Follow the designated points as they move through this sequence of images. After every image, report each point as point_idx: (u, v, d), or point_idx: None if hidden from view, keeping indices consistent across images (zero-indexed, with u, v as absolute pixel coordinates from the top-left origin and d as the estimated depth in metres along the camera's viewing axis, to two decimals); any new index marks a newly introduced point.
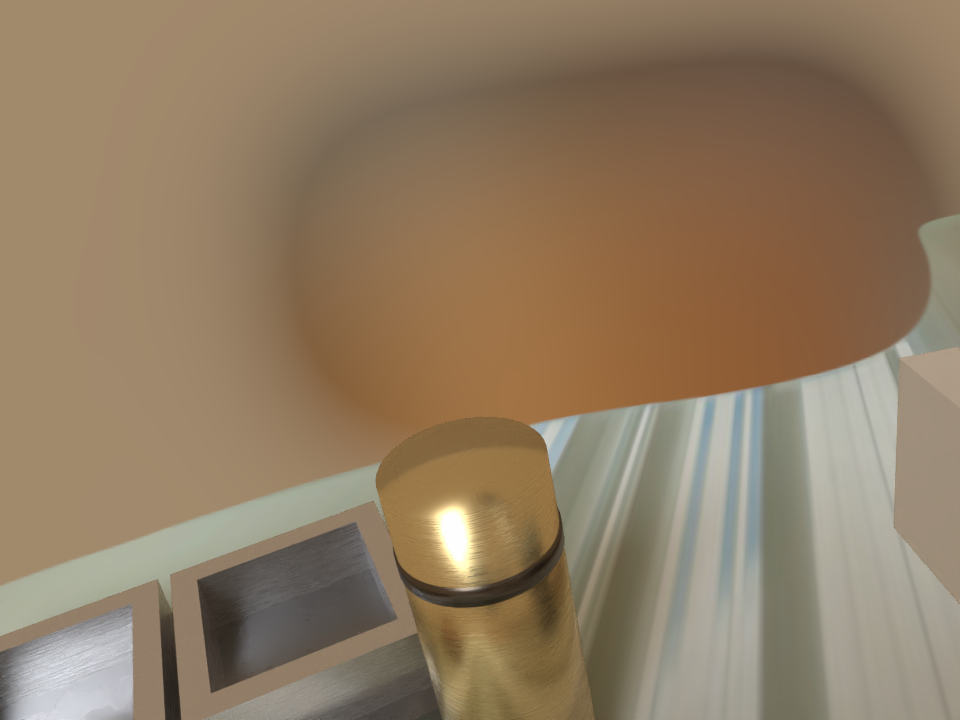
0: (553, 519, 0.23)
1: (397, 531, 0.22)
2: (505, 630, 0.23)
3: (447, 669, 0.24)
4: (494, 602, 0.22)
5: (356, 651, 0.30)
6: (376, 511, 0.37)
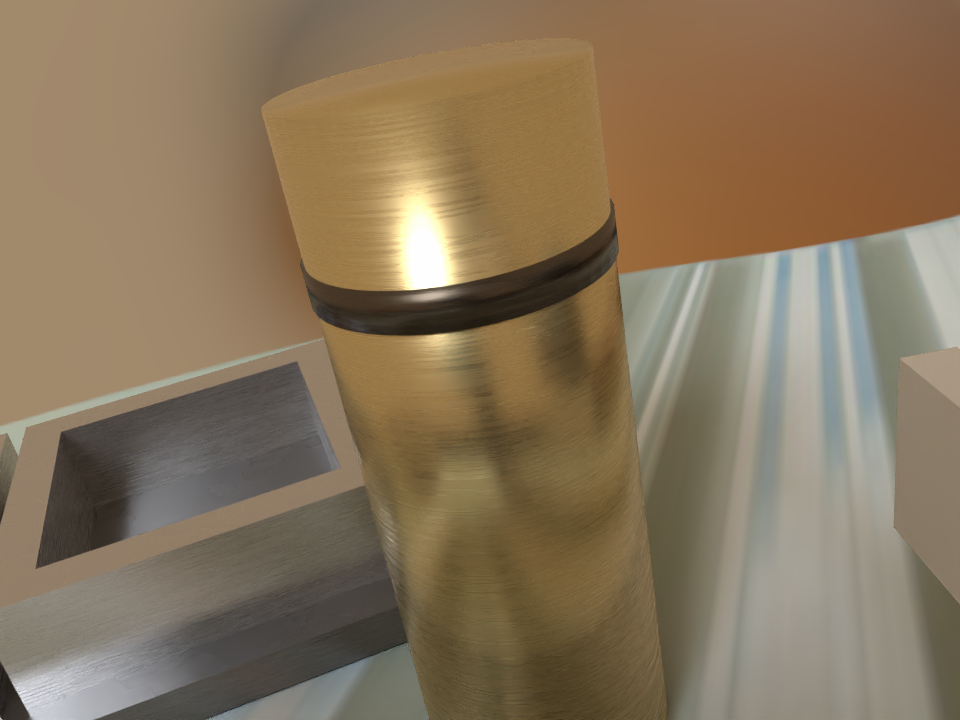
0: (601, 182, 0.12)
1: (296, 180, 0.11)
2: (506, 390, 0.12)
3: (397, 479, 0.13)
4: (484, 323, 0.11)
5: (271, 511, 0.19)
6: None
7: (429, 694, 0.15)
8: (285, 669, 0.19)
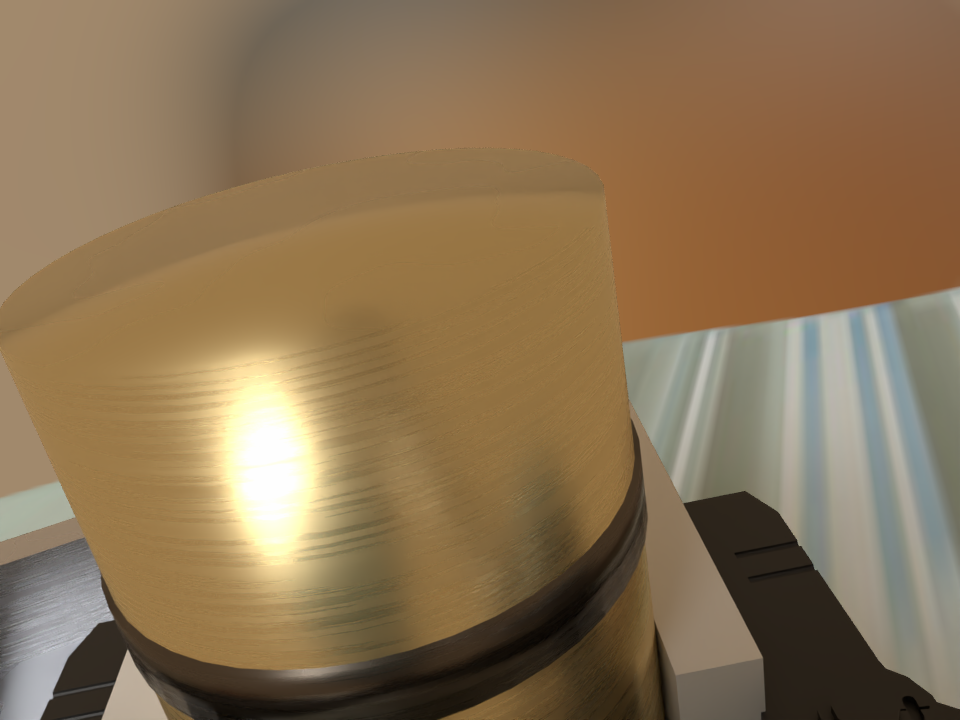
0: (621, 426, 0.07)
1: (49, 453, 0.06)
2: None
3: None
4: None
5: None
6: None
7: None
8: None
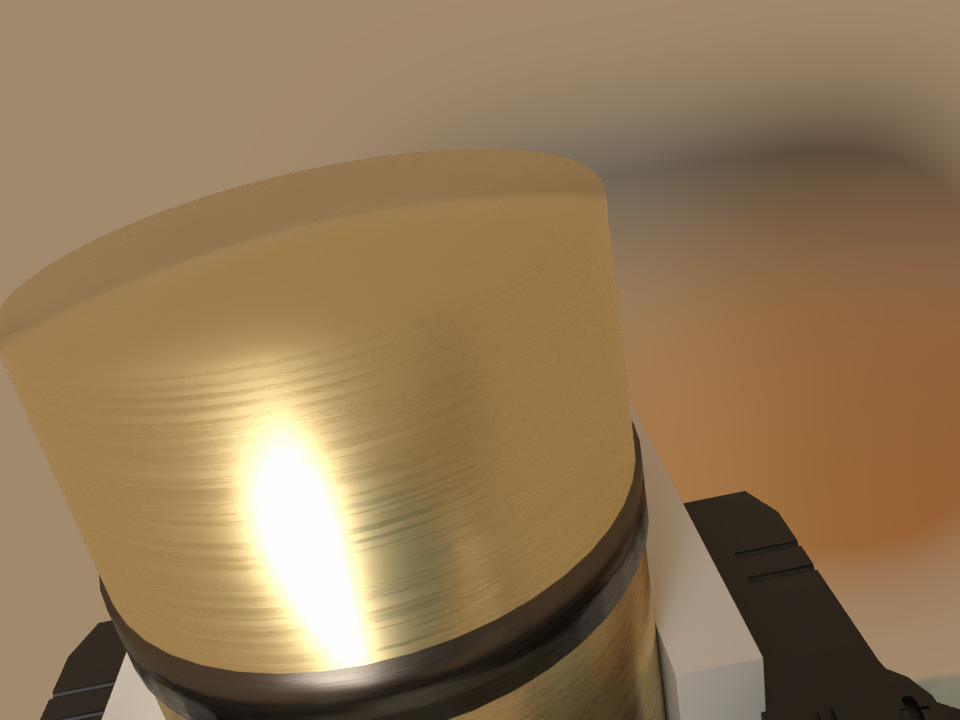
0: (622, 428, 0.07)
1: (47, 457, 0.06)
2: None
3: None
4: None
5: None
6: None
7: None
8: None
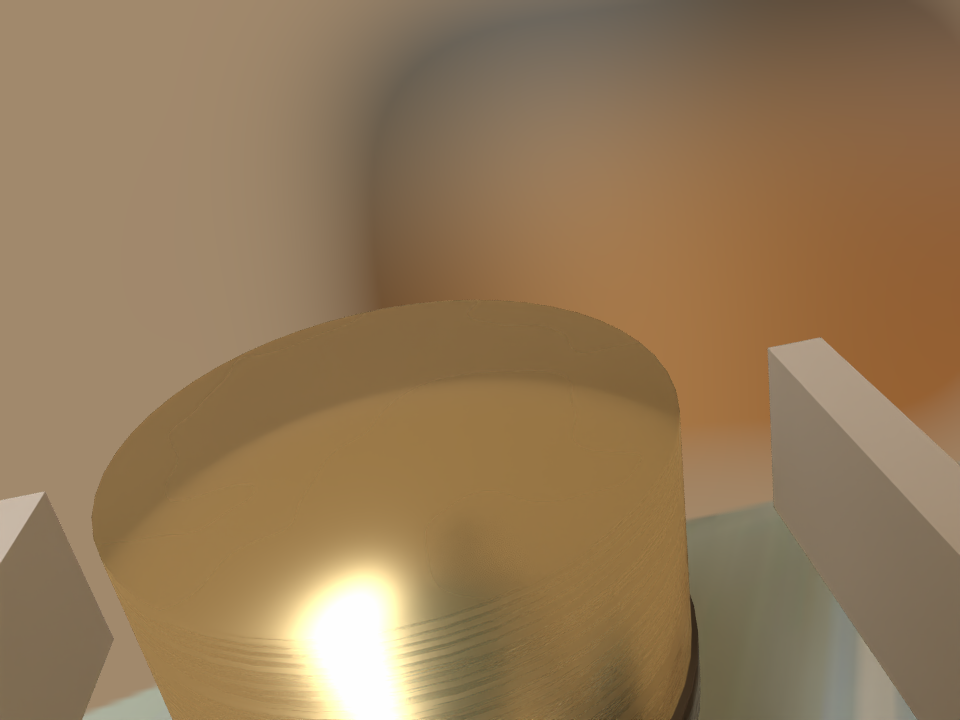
0: (685, 616, 0.07)
1: (147, 656, 0.06)
2: None
3: None
4: None
5: None
6: None
7: None
8: None
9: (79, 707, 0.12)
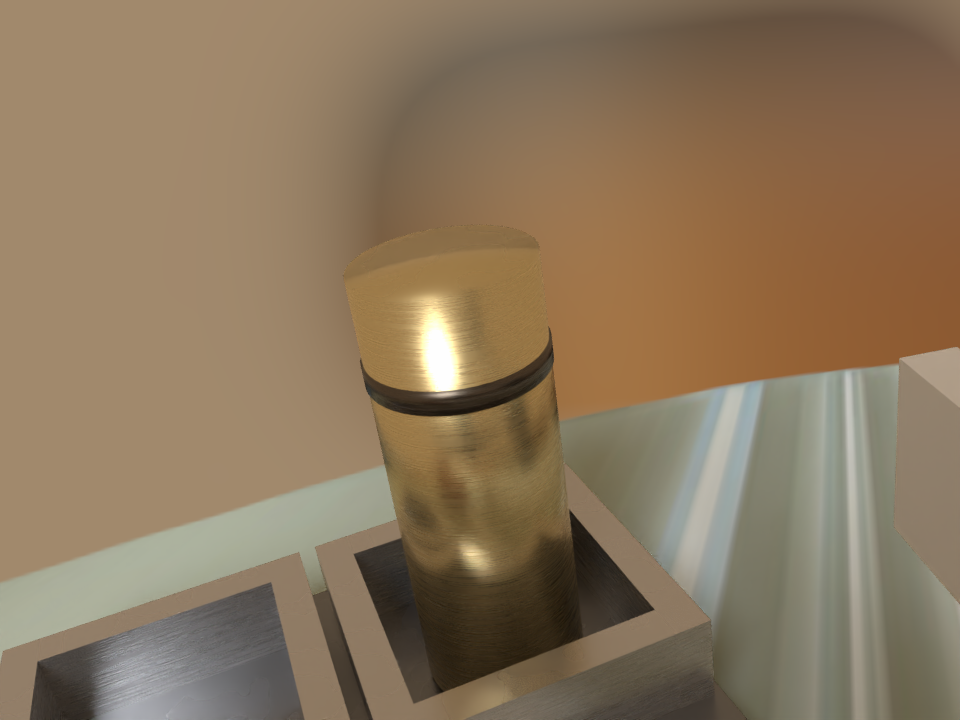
0: (543, 325, 0.20)
1: (366, 326, 0.20)
2: (485, 447, 0.20)
3: (417, 497, 0.21)
4: (474, 410, 0.20)
5: (610, 652, 0.22)
6: (574, 475, 0.29)
7: (429, 633, 0.24)
8: None
9: None
